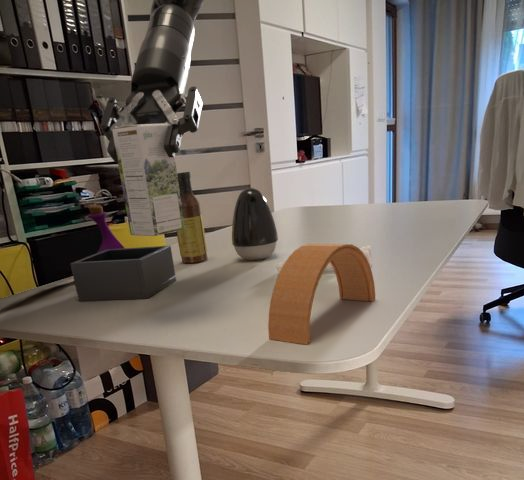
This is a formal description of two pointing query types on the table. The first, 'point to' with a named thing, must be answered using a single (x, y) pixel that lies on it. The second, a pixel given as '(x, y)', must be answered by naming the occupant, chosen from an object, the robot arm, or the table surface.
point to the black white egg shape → (253, 226)
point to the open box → (124, 273)
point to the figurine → (365, 250)
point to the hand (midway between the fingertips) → (141, 155)
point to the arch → (315, 286)
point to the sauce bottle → (190, 223)
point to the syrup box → (148, 180)
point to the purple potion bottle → (103, 226)
